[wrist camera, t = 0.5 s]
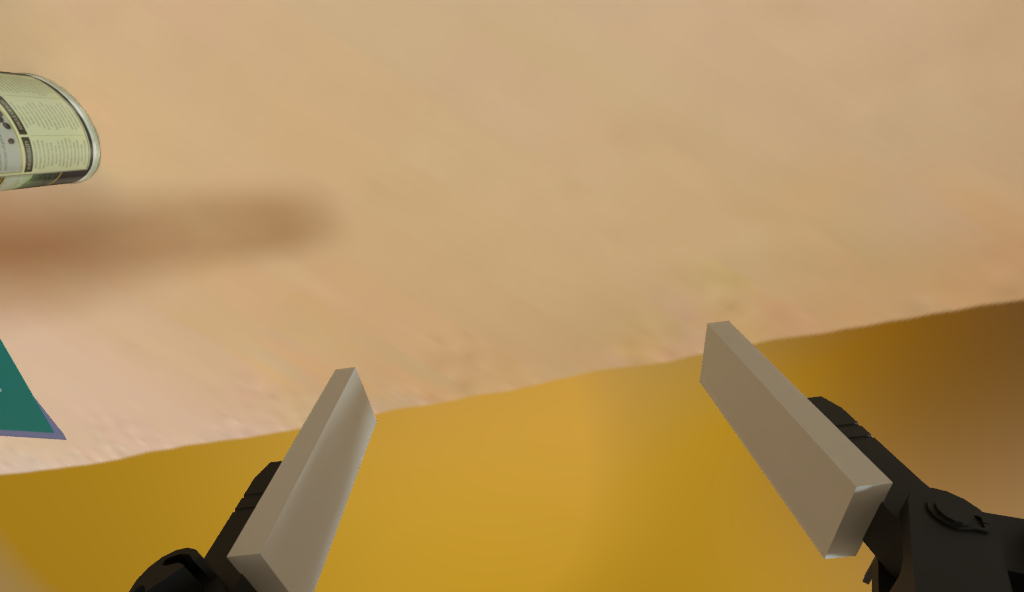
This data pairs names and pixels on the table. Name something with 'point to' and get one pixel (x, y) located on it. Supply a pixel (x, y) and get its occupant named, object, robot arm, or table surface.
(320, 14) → the table surface
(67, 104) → the coffee can
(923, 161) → the table surface
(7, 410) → the place mat
